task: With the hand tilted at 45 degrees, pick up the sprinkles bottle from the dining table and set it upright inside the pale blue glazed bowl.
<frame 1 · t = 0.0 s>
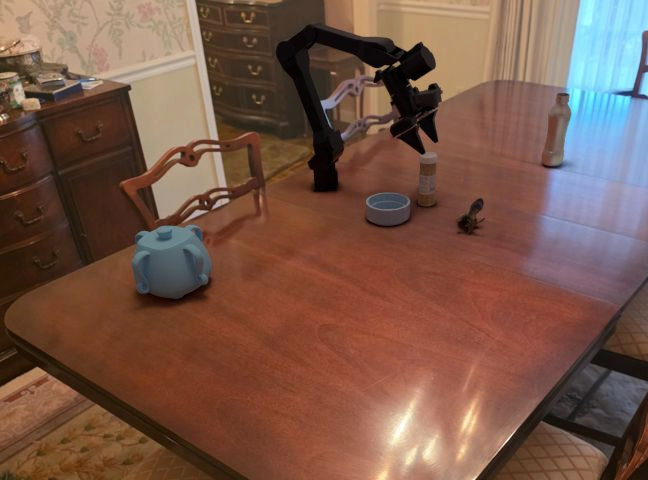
hand: (430, 148, 156), 15 cm above the table, tool tilted 35°, fingers open, 9 cm apart
decorative pot: (177, 286, 135), on the table
eagle figurine: (470, 227, 154), on the table
bowl: (387, 217, 159), on the table
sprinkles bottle: (426, 204, 166), on the table
plastic bottle: (551, 165, 185), on the table
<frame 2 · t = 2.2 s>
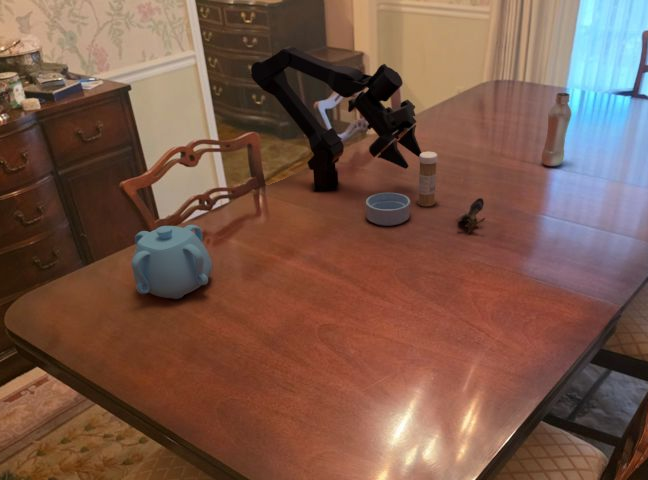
hand: (414, 161, 160), 11 cm above the table, tool tilted 45°, fingers open, 9 cm apart
nothing on the table moved.
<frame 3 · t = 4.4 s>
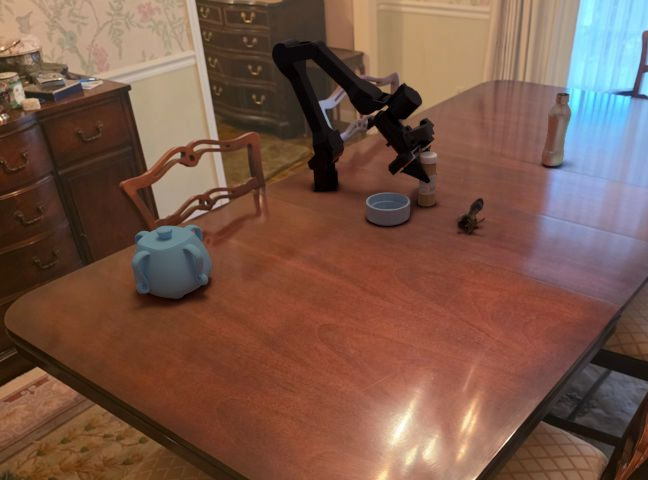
hand: (432, 179, 161), 7 cm above the table, tool tilted 45°, fingers closed on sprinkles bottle, 4 cm apart
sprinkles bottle: (426, 204, 166), on the table, touching gripper
everything else where it was.
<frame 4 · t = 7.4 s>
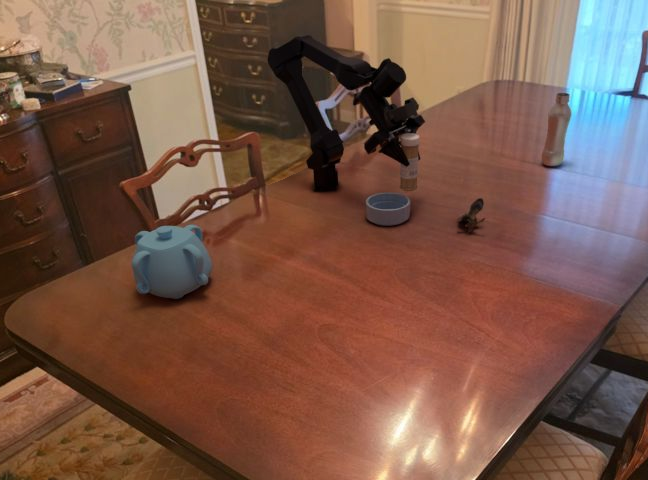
hand: (413, 163, 153), 13 cm above the table, tool tilted 45°, fingers closed on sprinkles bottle, 4 cm apart
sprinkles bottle: (408, 189, 158), point 6 cm above the table, touching gripper
everything else where it was.
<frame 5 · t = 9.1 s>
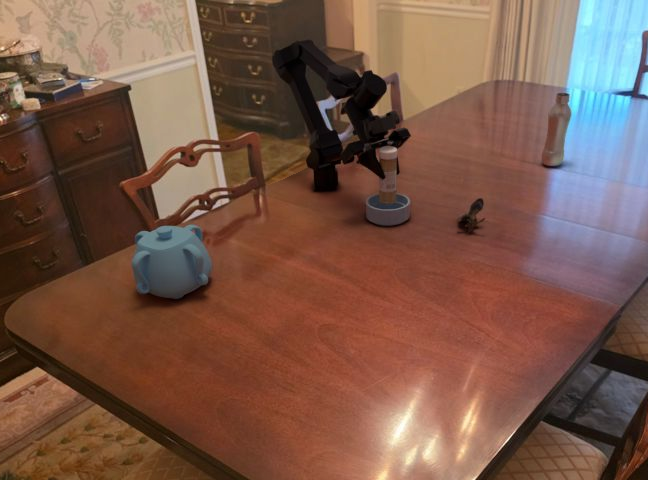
hand: (391, 176, 152), 11 cm above the table, tool tilted 45°, fingers closed on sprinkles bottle, 4 cm apart
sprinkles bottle: (387, 202, 157), point 4 cm above the table, touching gripper
everything else where it was.
when the fingers open (8 cm above the table, at t = 10.5 s): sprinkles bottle stays where it is, resting on bowl.
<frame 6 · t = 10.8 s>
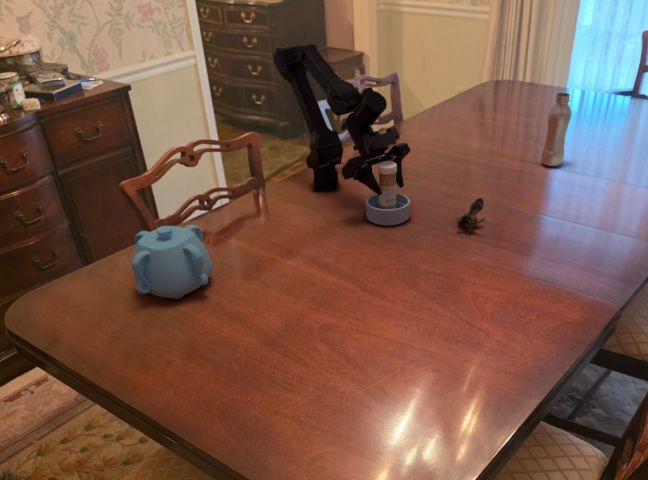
hand: (391, 190, 154), 8 cm above the table, tool tilted 45°, fingers open, 7 cm apart
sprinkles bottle: (387, 215, 159), resting on bowl
everything else where it was.
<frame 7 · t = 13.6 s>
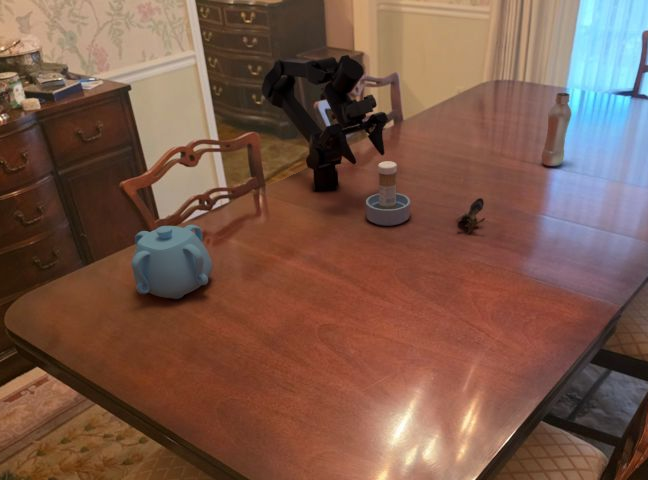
hand: (369, 158, 156), 13 cm above the table, tool tilted 45°, fingers open, 9 cm apart
nothing on the table moved.
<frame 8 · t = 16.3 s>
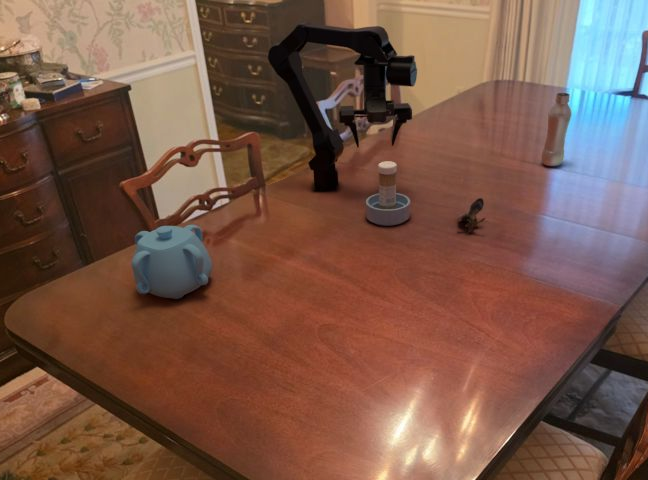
hand: (375, 146, 164), 13 cm above the table, tool pointing down, fingers open, 9 cm apart
nothing on the table moved.
at the end: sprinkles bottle 0.2 cm off-centre in the bowl, point 0.4 cm above the bowl's base; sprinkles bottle tilted 0°; the gripper is holding nothing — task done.
